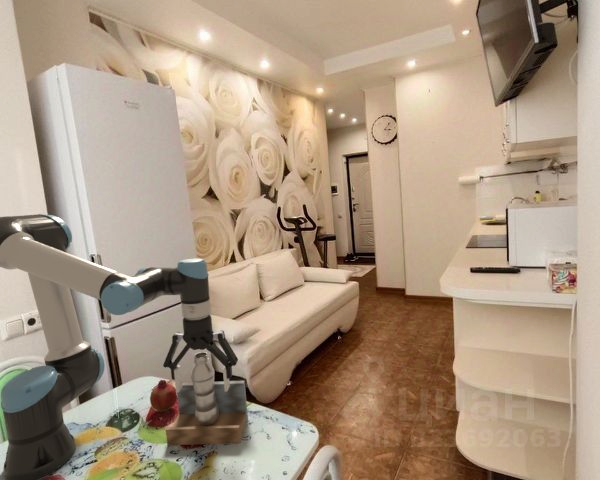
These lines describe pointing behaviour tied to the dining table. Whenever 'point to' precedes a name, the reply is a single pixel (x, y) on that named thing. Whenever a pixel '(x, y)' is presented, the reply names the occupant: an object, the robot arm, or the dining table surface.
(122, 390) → the dining table surface
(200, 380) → the silver metal bottle
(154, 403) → the fruit
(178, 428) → the brown wooden box
